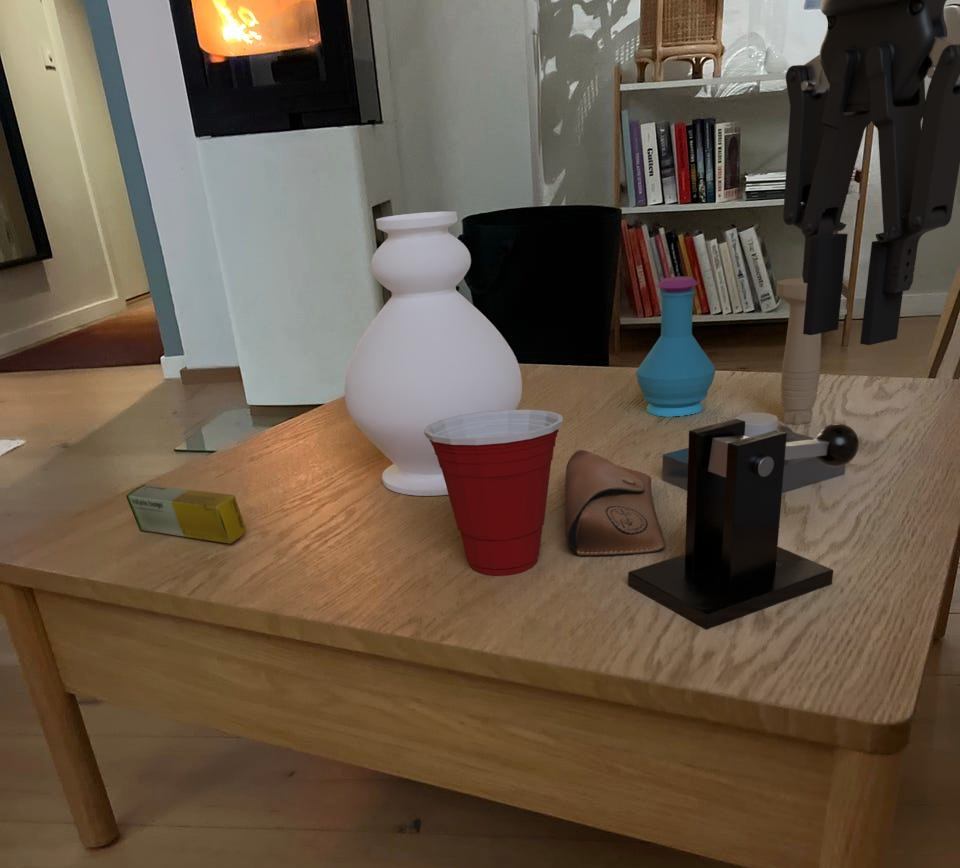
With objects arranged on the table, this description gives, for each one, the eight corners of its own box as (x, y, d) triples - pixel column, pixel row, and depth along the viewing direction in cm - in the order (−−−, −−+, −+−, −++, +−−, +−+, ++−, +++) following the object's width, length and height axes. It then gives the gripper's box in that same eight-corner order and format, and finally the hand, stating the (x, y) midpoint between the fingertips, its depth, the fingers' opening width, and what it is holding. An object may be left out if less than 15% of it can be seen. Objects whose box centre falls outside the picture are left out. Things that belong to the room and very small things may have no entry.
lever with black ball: (830, 459, 73) (838, 418, 72) (863, 469, 70) (872, 427, 69) (702, 475, 67) (708, 430, 66) (732, 486, 65) (739, 440, 63)
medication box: (137, 532, 90) (122, 494, 88) (157, 520, 92) (143, 482, 90) (230, 545, 85) (216, 505, 83) (249, 531, 87) (236, 492, 85)
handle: (765, 416, 108) (775, 279, 101) (823, 415, 107) (838, 276, 100) (768, 428, 104) (778, 286, 97) (828, 427, 103) (844, 283, 96)
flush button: (755, 427, 91) (757, 410, 90) (786, 436, 88) (787, 418, 87) (724, 436, 89) (725, 418, 89) (753, 445, 86) (754, 426, 85)
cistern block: (769, 451, 97) (772, 408, 95) (844, 475, 89) (850, 428, 87) (661, 480, 92) (662, 436, 90) (732, 509, 84) (734, 460, 82)
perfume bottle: (649, 397, 119) (650, 273, 112) (721, 401, 115) (727, 271, 108) (626, 417, 112) (626, 285, 105) (702, 421, 108) (707, 284, 101)
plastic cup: (553, 529, 83) (547, 393, 77) (582, 578, 73) (578, 428, 68) (432, 544, 82) (417, 408, 76) (445, 596, 72) (429, 445, 67)
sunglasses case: (672, 547, 76) (630, 482, 74) (598, 590, 78) (555, 528, 76) (651, 475, 92) (616, 419, 89) (590, 513, 94) (554, 459, 92)
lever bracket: (747, 547, 76) (756, 403, 71) (832, 584, 69) (850, 427, 64) (627, 585, 72) (627, 435, 66) (706, 630, 65) (713, 465, 59)
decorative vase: (486, 440, 108) (469, 203, 97) (555, 482, 94) (545, 209, 82) (338, 469, 103) (300, 222, 91) (387, 518, 88) (349, 231, 76)
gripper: (740, -42, 61) (723, 329, 72) (984, -107, 47) (916, 364, 58) (824, -42, 64) (795, 314, 75) (1077, -104, 50) (996, 344, 61)
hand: (848, 335), depth 67 cm, fingers open, 4 cm apart
